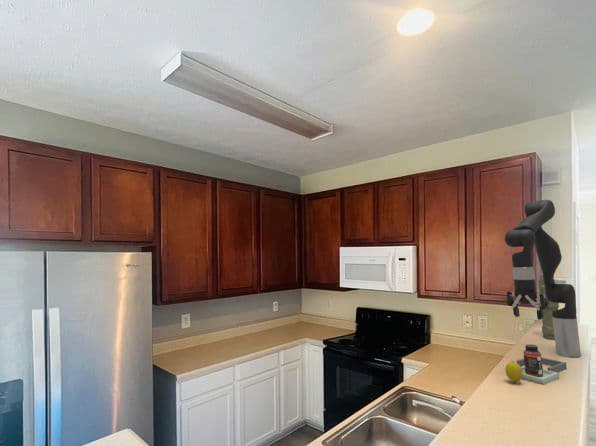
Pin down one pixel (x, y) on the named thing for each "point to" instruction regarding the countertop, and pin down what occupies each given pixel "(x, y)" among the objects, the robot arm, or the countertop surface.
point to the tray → (546, 378)
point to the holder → (555, 365)
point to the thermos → (547, 314)
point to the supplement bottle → (533, 361)
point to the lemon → (514, 371)
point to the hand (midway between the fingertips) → (528, 318)
